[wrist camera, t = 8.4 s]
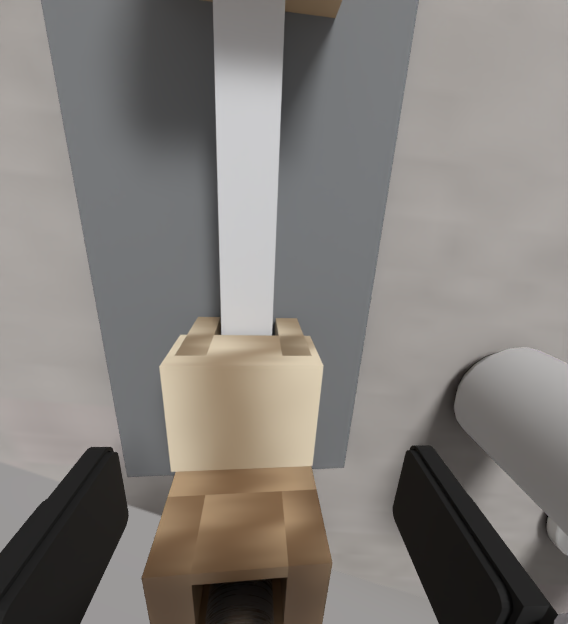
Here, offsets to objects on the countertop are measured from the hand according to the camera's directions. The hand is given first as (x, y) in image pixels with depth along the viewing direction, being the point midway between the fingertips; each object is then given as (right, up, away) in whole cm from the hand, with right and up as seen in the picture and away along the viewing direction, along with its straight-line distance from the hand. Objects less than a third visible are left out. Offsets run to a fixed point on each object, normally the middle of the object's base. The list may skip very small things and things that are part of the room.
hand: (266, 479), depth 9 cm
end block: (-2, -3, +10) cm, 11 cm away
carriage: (-1, +3, +7) cm, 8 cm away
